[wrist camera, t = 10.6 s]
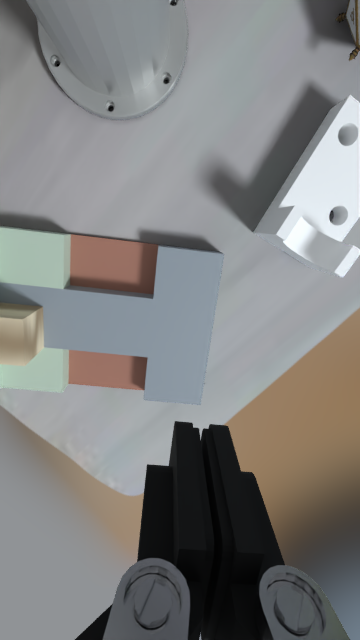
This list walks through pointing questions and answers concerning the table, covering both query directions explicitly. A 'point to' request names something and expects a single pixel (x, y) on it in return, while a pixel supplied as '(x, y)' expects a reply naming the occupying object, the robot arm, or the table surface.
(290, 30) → the table surface
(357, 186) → the bracket
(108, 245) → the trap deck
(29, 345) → the maple block
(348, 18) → the game die
